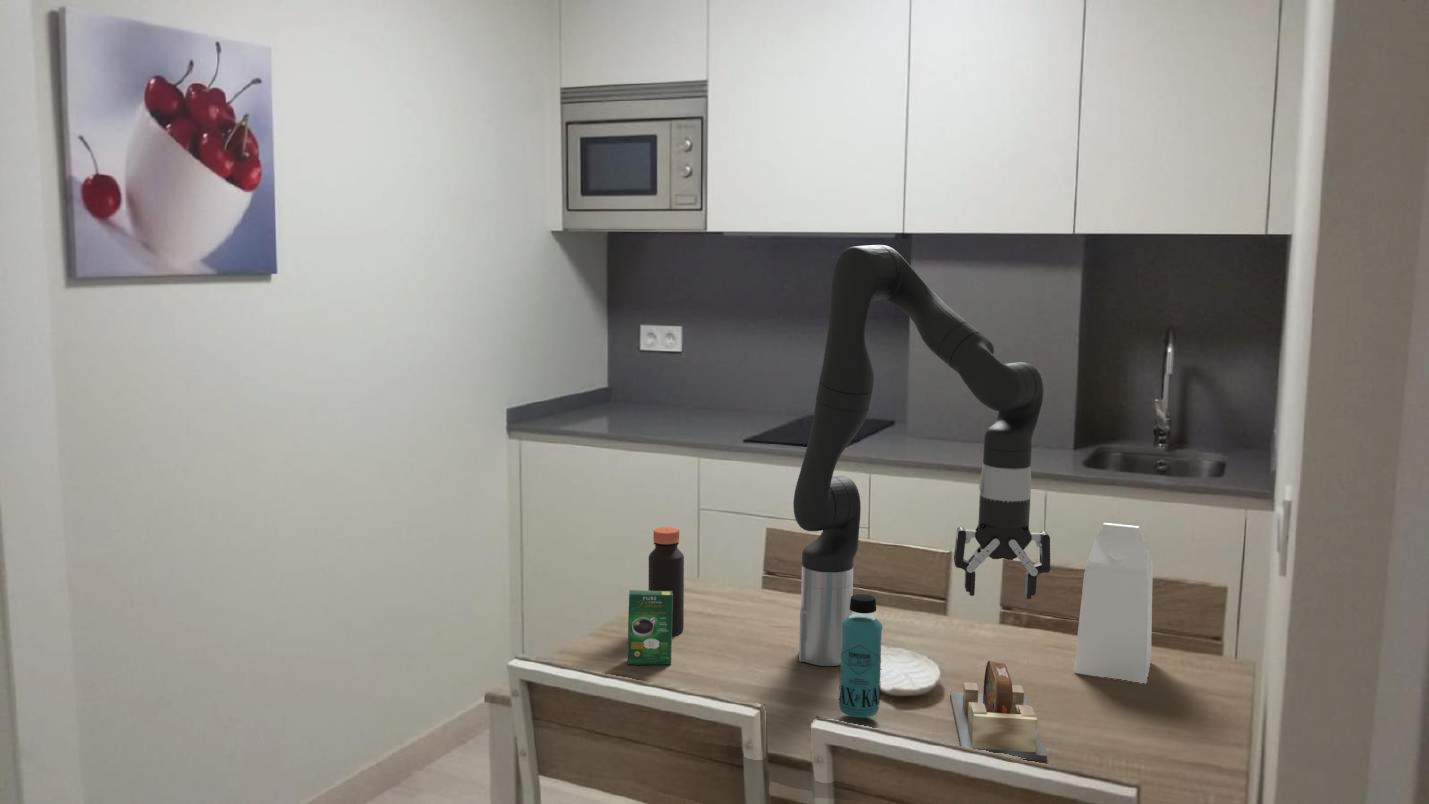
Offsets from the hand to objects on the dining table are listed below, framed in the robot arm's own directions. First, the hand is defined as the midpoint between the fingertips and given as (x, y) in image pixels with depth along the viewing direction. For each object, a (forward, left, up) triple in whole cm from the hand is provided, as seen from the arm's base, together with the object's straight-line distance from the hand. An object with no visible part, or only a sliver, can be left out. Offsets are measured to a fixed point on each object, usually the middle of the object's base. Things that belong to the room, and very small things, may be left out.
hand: (999, 596), depth 172 cm
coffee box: (-58, +17, -21) cm, 64 cm away
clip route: (0, -2, -21) cm, 21 cm away
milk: (+24, +27, -21) cm, 42 cm away
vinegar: (-58, +34, -21) cm, 70 cm away
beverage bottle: (-21, -2, -21) cm, 30 cm away
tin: (0, -2, -20) cm, 20 cm away
